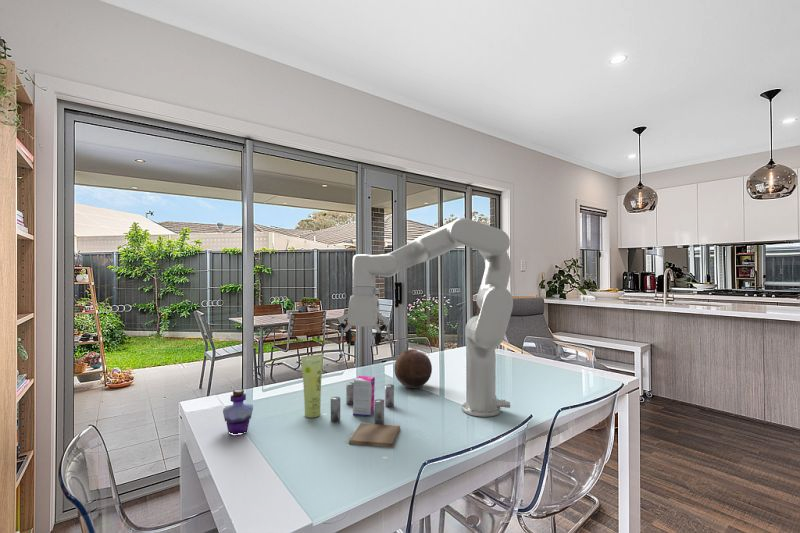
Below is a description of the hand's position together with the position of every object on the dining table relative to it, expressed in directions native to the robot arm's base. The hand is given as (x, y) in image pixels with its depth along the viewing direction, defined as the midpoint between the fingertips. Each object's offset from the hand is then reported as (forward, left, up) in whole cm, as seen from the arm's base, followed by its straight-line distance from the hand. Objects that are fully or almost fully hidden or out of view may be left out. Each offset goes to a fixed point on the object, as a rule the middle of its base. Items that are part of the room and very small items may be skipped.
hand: (363, 343), depth 130 cm
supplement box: (0, 0, -23) cm, 23 cm away
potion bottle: (+32, +21, -23) cm, 44 cm away
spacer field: (0, 0, -23) cm, 23 cm away
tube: (+16, +5, -23) cm, 28 cm away
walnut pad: (-8, +17, -23) cm, 29 cm away
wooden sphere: (-12, -31, -23) cm, 40 cm away
